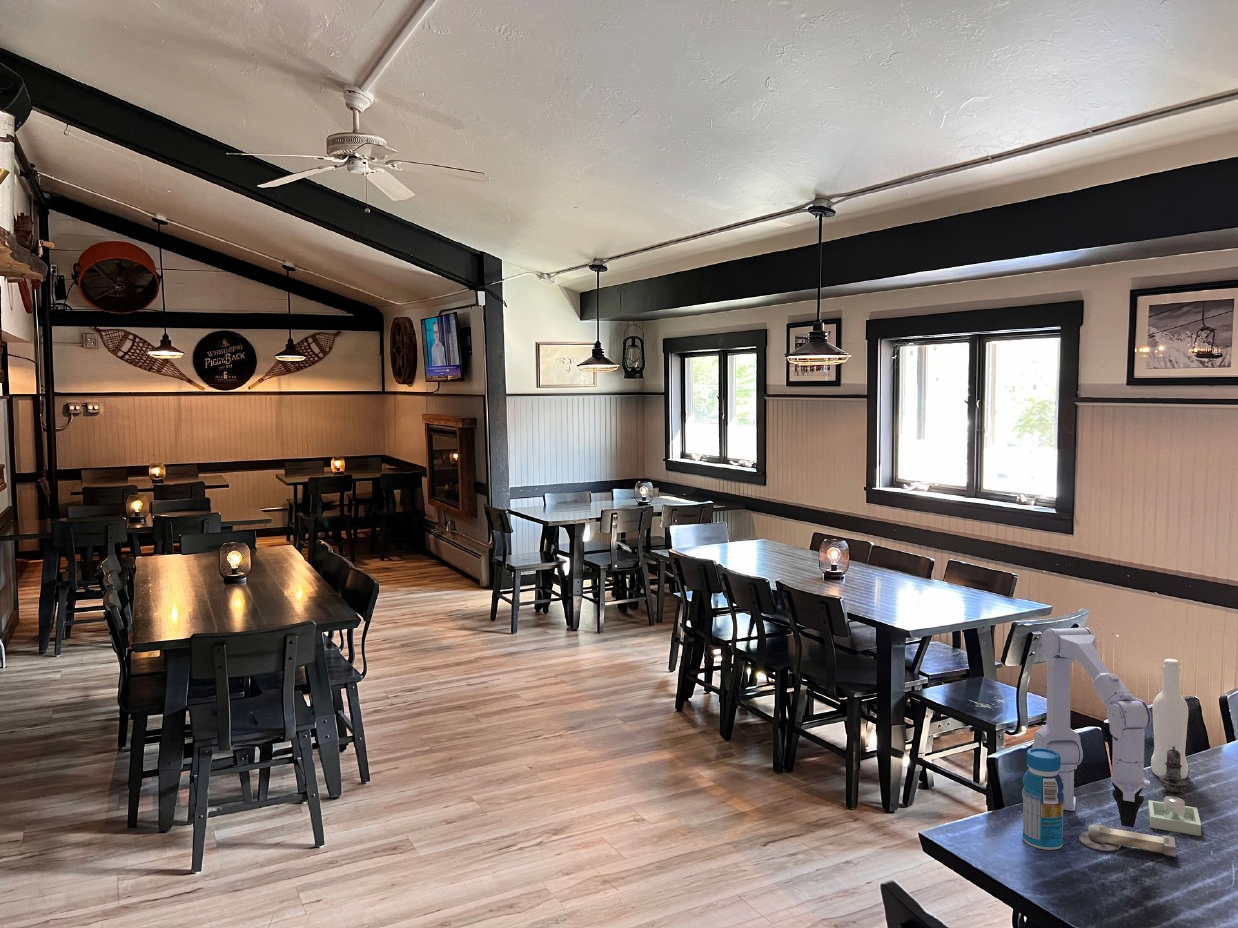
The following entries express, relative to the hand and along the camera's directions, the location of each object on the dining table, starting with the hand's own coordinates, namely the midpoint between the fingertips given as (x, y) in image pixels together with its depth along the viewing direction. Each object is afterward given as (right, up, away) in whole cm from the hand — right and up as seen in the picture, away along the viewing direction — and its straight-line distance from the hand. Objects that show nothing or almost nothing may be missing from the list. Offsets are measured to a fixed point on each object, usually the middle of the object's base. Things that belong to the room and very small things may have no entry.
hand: (1127, 821), depth 188 cm
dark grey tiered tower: (+29, -6, +32) cm, 44 cm away
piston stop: (+20, -7, +17) cm, 27 cm away
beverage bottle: (-13, -8, +9) cm, 18 cm away
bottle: (+35, -5, +44) cm, 56 cm away
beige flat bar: (+4, -7, +6) cm, 10 cm away
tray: (+20, -7, +17) cm, 27 cm away
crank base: (-1, -8, +9) cm, 12 cm away
